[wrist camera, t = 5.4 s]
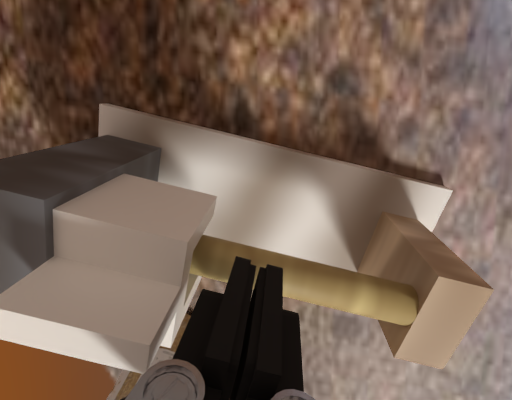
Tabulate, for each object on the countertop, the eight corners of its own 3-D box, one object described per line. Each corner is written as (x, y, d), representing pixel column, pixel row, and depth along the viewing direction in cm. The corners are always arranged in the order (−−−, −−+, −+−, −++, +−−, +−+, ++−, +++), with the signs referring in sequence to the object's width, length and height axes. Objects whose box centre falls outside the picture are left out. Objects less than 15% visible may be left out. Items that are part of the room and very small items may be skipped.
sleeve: (217, 196, 12) (156, 291, 6) (201, 277, 13) (140, 416, 8) (123, 173, 12) (-24, 247, 6) (118, 257, 13) (-5, 380, 8)
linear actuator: (444, 186, 16) (632, 291, 7) (388, 300, 19) (476, 471, 10) (108, 103, 16) (-93, 113, 7) (102, 230, 19) (-46, 343, 10)
